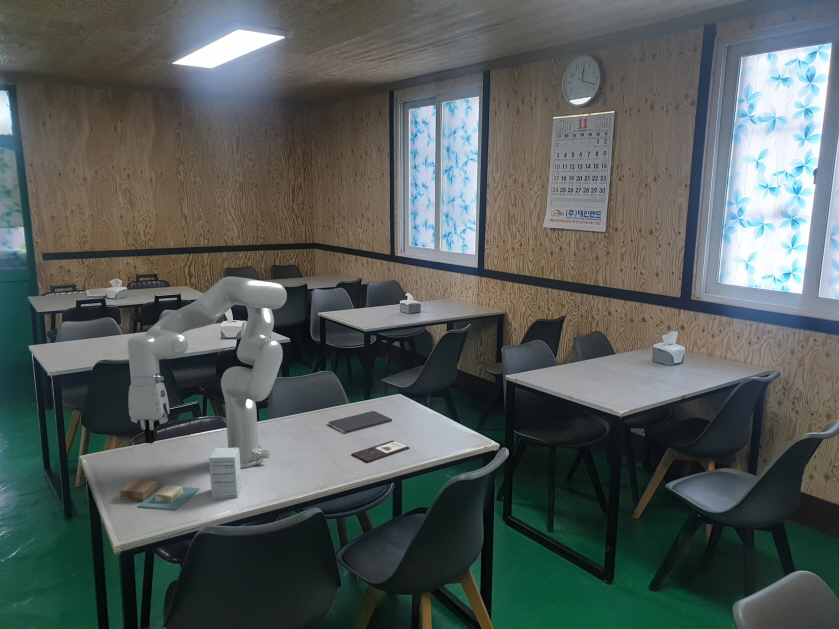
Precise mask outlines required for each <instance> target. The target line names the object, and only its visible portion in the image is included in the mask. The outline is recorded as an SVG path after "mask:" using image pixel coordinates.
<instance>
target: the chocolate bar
mask: <svg viewBox="0 0 839 629" xmlns="http://www.w3.org/2000/svg"><path fill="white" fill-rule="evenodd" d="M407 450H410V447H409V446H407V445H405V444H403V443H400V442H397V441H396V440H390V441H387V442H384V443H381V444H377V445H374V446H371V447H367V448H365V449H364V448H363V449H362V450H359V451H356V452H353V453H351V456H353V457H355V458H356V459H358V460H360V461H362V462H364V463H367V464H370V463H372V462H375V461H378V460H381V459H384V458H387V457H389V456H390V457H391V456H392V455H395V454H398V453H401V452H405V451H407Z"/></svg>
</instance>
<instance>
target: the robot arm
mask: <svg viewBox="0 0 839 629" xmlns="http://www.w3.org/2000/svg"><path fill="white" fill-rule="evenodd" d="M287 296H288V293H287V290H286V289H285V287H284V286H283V285H282V284H280V283H278V282H273V281H272V282H271V281H266V280H265V281H264V280H258V279H254V278H247V277H239V276H225V277H222V278H221V279H220V280H218V281H217V282H216V283H215V284H214V285H212V286H211V287H210V288H208V290H206V291H205V292H204V293H203V294H202V295H201V296H199V297H198V298H197V299H196V300H194V301H193V302H191V303H190V304H187V305H185V306H183V307H181V308H179V309H177V310H174V311H172V312H171V313H168V314H166V315H165V316H163V317H162V318H161V319H160V320H158V321H157V322H156V323H155V324H153V325H152V326H150V328H149V329H148V330H147V331H146V332H145V334H143V335H135V336H132V337H130V338H129V339H128V341H127V354H128V361H129V373H130V385H129V389H128V400H127V401H128V402H127V403H128V405H127V406H128V414H129V417H130V421H131V422H133V423H136V424H138V425H139V426H140V427H141V430H142V431H143V435H144V441H145V444H149V445H150V444H153V443H155V442H156V441H157V440H158V429H157V428H158V427H159V426H160V425H162V424H166V423H167V422H168V421H169V418H168V416H169V415H170V411H171V410H170V403H169V398H168V393H167V390H166V387H165V386H166V385H165V383H164V380H165V376H164V375H163V376H162V375H161V372H160V361H159V360H167V359H176V358H180V357H182V356H183V355H185V353H186V352H187V350H188V348H189V342H188V339H187V338H186V336H185V335H183V334H184V333H185V332H188V331H191V330H194V329H200V328H204V327H207V326H211V325H213V324H214V323H215V322H217V320H219V319H220V318H222V316H223V315H224V314H226V313H227V312H228V311H229V310H231V308H233V306H235V305H237V306H245V307H246V310H247V315H248V316H247V322H246V325H245V328H244V331H243V334H242V336H241V339H240V341H239V344H238V347H237V350H236V356H237V359H238V360H239V361H240V362H241V363H243V364H247V365H250V366H253V367H252V368H248V367H245V366H244V367H243V366H231V367H229V368H227V369H226V370H225V371H224V373H223V374H222V377H221V379H220V386H221V387H220V388H221V391H222V394H223V399H224V403H225V404H224V405H225V417H226V418H225V419H226V434H227V436H226V437H227V448H239V453H240V469H242V468H243V469H246V468H250V467H254V466H256V465H259V464H260V463H262V462H263V461H264V459H270V456H271V454H270V450H269V449H262V445H261V444H259V436H258V419H257V418H258V417H257V413H258V412H257V405H256V404H257V403H256V402H261V401H263V400H265V399H267V398H268V396H269V395H270V394H271V391H272V389H273V386H274V384H275V382H276V378H277V376H278V373H279V370H280V367H281V364H282V362H283V356H284V354H283V352H284V351H283V347H282V345H281V344H280V342H279V341H277V340H276V339H273V338H271V336H272V332H273V329H274V325H275V319H274V314H273V311H272V310H278V309H280V308H282V307H283V306H284V304H285V303H286V302H287V298H288V297H287Z"/></svg>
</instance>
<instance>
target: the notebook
mask: <svg viewBox="0 0 839 629" xmlns="http://www.w3.org/2000/svg"><path fill="white" fill-rule="evenodd" d="M391 422H393V419H392V418H391V417H388V416H386V415H384V414H381V413H379V412H378V411H375V410H371V411H366V412H363V413H359V414H355V415H350V416H347V417H343V418H338V419H333V420H330V421H328V425H329V427H332V428H334V429H336V430H338V431H340V432H342V433H343V434H345V435H346V434H349V433H353V432H357V431H361V430H364V429H368V428H372V427H376V426H377V427H378V426H380V425H383V424H387V423H391Z"/></svg>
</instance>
